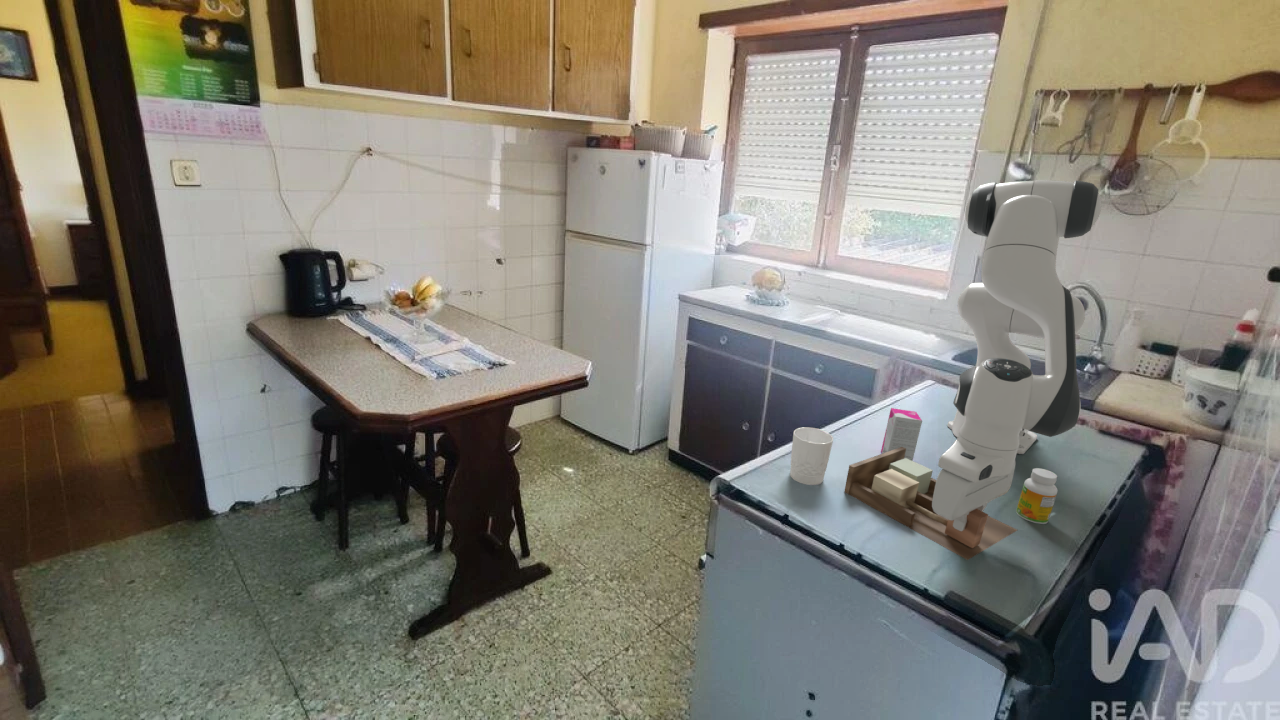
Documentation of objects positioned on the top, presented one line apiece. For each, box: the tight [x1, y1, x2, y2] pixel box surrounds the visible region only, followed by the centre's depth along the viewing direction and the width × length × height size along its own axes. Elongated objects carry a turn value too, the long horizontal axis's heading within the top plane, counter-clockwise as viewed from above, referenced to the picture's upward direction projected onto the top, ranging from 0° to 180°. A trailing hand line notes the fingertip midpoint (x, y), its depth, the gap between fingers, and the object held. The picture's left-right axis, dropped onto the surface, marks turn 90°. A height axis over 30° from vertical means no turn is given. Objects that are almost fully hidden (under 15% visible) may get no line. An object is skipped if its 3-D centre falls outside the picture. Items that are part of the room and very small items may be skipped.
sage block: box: [889, 458, 934, 494], centre depth 121 cm, size 6×6×5 cm
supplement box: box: [880, 407, 923, 461], centre depth 134 cm, size 6×6×12 cm
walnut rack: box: [843, 447, 1018, 561], centre depth 114 cm, size 18×25×6 cm
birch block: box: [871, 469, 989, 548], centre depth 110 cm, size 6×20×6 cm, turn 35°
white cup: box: [789, 426, 834, 486], centre depth 123 cm, size 8×8×10 cm
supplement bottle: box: [1015, 467, 1058, 525], centre depth 114 cm, size 5×5×10 cm
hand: (965, 525), depth 105 cm, fingers closed on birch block, 2 cm apart
